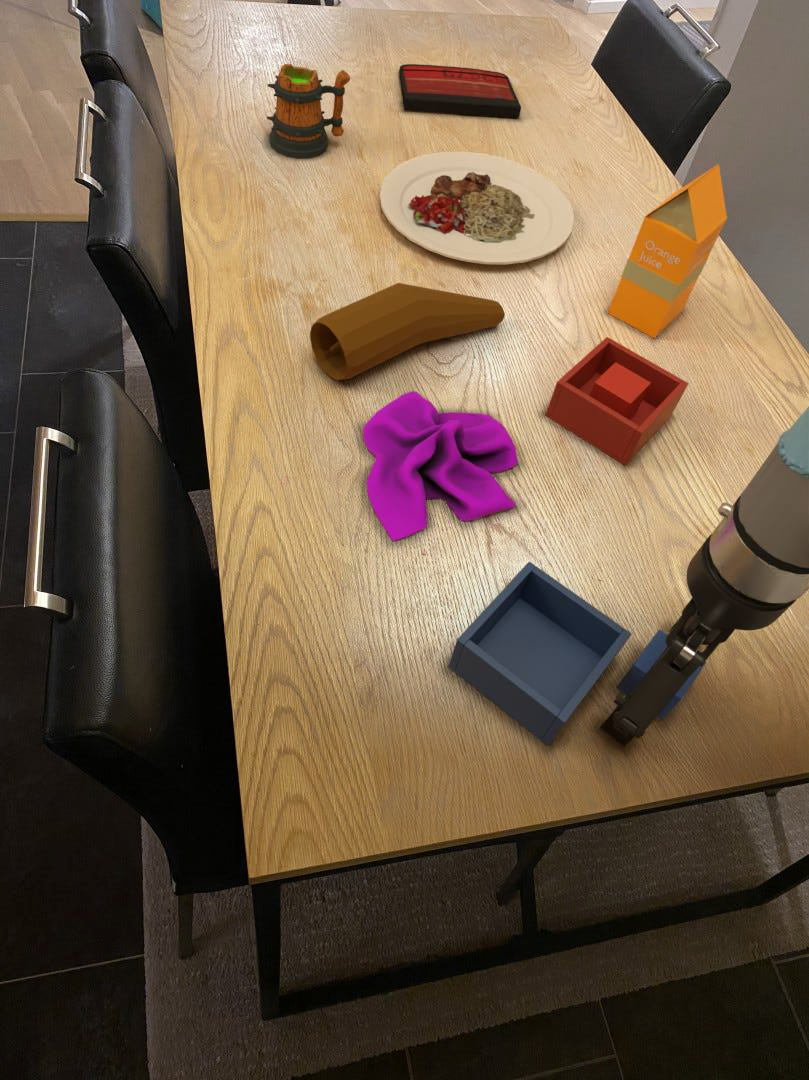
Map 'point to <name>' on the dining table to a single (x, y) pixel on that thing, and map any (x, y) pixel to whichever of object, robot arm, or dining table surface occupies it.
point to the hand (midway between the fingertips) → (649, 683)
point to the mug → (304, 112)
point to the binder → (457, 91)
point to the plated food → (476, 207)
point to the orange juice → (670, 254)
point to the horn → (395, 326)
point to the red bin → (602, 422)
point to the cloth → (434, 463)
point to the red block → (620, 390)
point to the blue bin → (537, 651)
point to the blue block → (642, 668)
